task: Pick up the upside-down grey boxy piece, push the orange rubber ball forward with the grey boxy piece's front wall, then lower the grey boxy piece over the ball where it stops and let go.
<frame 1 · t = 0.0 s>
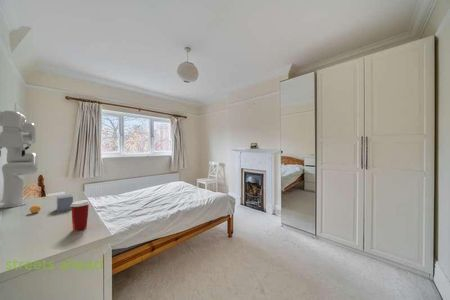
hand: (11, 156, 115), 37 cm above the table, tool pointing down, fingers open, 9 cm apart
grey boxy piece: (64, 209, 123), on the table
ball: (35, 209, 116), on the table
paper cup: (79, 229, 93), on the table
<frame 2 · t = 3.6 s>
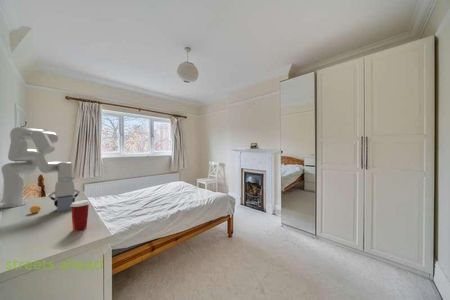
hand: (64, 204, 123), 3 cm above the table, tool pointing down, fingers closed on grey boxy piece, 7 cm apart
grey boxy piece: (64, 209, 123), on the table, touching gripper
everything else where it was.
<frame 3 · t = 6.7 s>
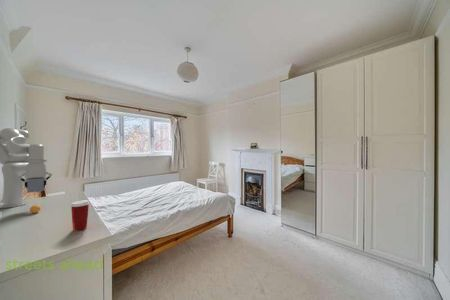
hand: (35, 186, 124), 15 cm above the table, tool pointing down, fingers closed on grey boxy piece, 7 cm apart
grey boxy piece: (35, 190, 124), point 12 cm above the table, touching gripper
everything else where it was.
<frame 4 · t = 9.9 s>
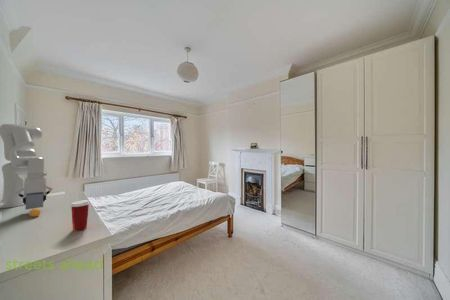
hand: (34, 202, 117), 7 cm above the table, tool pointing down, fingers closed on grey boxy piece, 7 cm apart
grey boxy piece: (34, 206, 117), point 4 cm above the table, touching gripper
ball: (35, 212, 109), on the table
everything else where it was.
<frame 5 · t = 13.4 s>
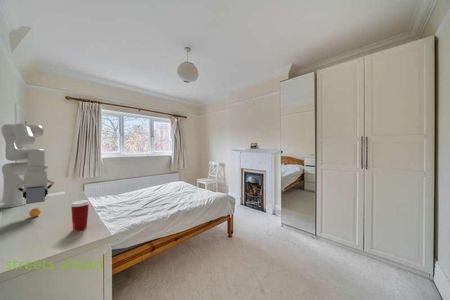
hand: (35, 197, 110), 12 cm above the table, tool pointing down, fingers closed on grey boxy piece, 7 cm apart
grey boxy piece: (35, 201, 110), point 9 cm above the table, touching gripper
everything else where it was.
when the fingers open (3 cm above the table, at t = 16.3 s): grey boxy piece stays where it is, on the table.
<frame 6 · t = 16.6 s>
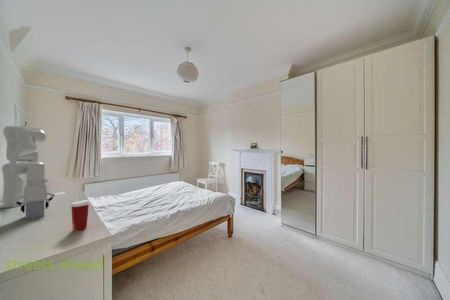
hand: (35, 210, 110), 4 cm above the table, tool pointing down, fingers open, 9 cm apart
grey boxy piece: (35, 216, 110), on the table
everything else where it was.
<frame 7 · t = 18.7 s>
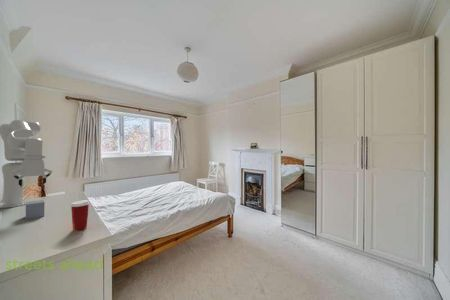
hand: (32, 185, 112), 19 cm above the table, tool pointing down, fingers open, 9 cm apart
nothing on the table moved.
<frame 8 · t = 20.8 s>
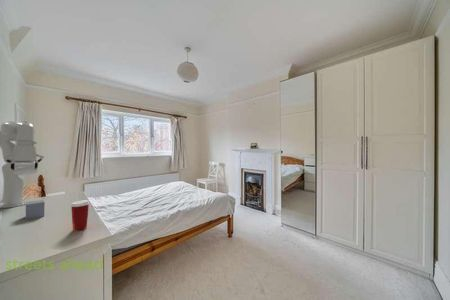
hand: (24, 169, 116), 28 cm above the table, tool pointing down, fingers open, 9 cm apart
nothing on the table moved.
at the end: ball 0.5 cm from the grey boxy piece (horizontally); grey boxy piece on the table; ball moved 9.4 cm from its start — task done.
